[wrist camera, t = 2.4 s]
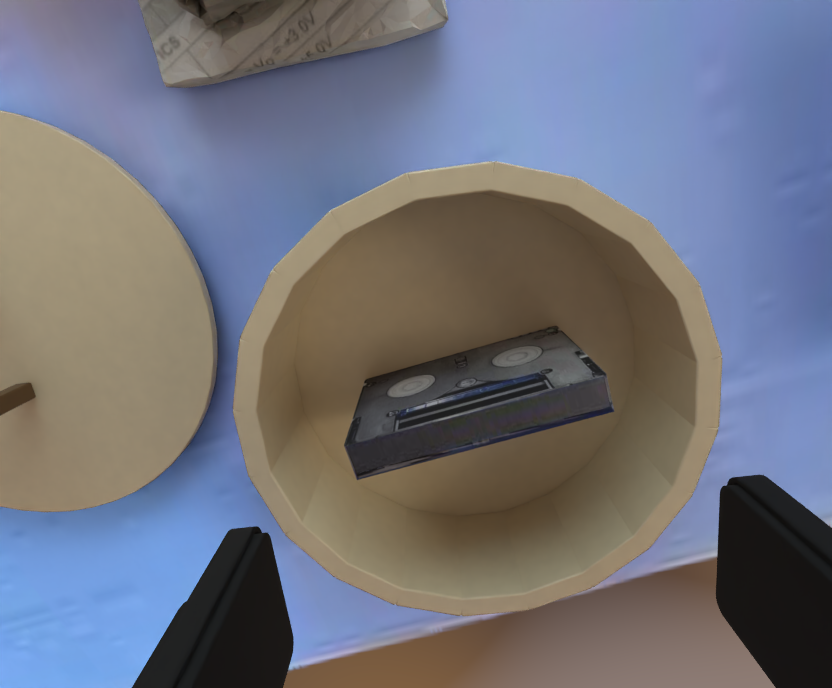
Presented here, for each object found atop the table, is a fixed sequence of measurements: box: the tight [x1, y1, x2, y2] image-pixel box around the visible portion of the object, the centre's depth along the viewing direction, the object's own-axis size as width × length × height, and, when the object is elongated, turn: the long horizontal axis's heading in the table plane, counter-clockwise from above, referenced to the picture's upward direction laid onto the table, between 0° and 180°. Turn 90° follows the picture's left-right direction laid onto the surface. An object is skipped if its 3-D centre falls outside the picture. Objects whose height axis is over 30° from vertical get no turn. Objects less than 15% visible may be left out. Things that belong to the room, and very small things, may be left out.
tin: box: [233, 161, 722, 616], centre depth 19 cm, size 16×16×5 cm
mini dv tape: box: [344, 326, 614, 480], centre depth 18 cm, size 8×2×6 cm, turn 107°
